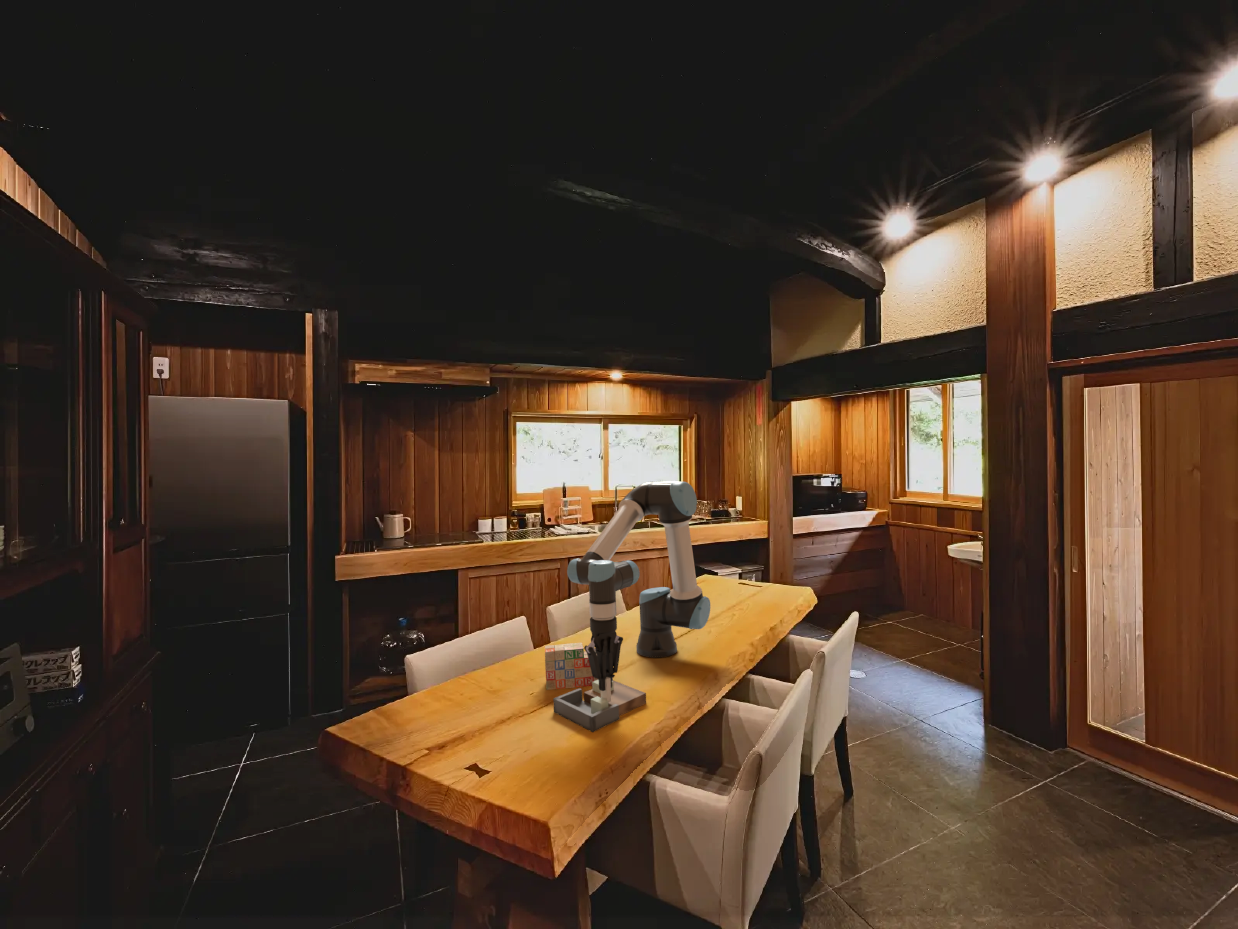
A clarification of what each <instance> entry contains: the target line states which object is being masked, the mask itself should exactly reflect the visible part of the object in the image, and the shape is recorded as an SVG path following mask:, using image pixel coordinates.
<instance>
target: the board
mask: <svg viewBox="0 0 1238 929" xmlns="http://www.w3.org/2000/svg"><path fill="white" fill-rule="evenodd" d="M613 682H614V690H612V691H611V702H608V707H610V706H612V705H614V704H617V705H619V717H620V716H623V715H624V714H626V713H629V712H631V711H633V710H635V709H637V708H640V707H642V706H644V705H645V704H647V693H646V692H644V691H642V690H640V689H636V688H634V687H631V686H630V685H629V686H628V685H626V684H623V683H621V682H618V681H616V680H614V679H613ZM597 696H598V697H600V698H601V694H600V693H598V692H595V691H593V690H592V689H590V690H586V691H584V692H583V701H585V702H587V703H590V704H591V699H592V698H595V697H597Z"/></svg>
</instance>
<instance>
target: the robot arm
mask: <svg viewBox="0 0 1238 929" xmlns="http://www.w3.org/2000/svg"><path fill="white" fill-rule="evenodd" d="M697 499H698V498H697V495H696V492H695V489H694V487H693V486H692V485H691V484H690V483H689V482H686V481H679V480H667V481H666V480H665V481H647V482H643V483H641V484H639V485H637V486H635V487H634V488H633V489H632V490H631V491H629V492H628V493H627V494H625V496H624V497H623V498H622V499H621V501H620V502H619V503H618V510H617V511H616V512H615V514H614V515H613V516H612V518H611V519H610V521H609V522H608V523H607V525H606V526H604V528H603V530H602V531H601V532H600V534H599V535H598V536H597V538H596V539H595V541H594V542H593V543H592V545H591V546H590V547H589V548H588V549H587V551H586V552H585V554H584V555H583V556H582V557H581V558H579V557H578V558H573V559H572V560H570V561H569V563H568V565H567V567H566V568H567V570H566V573H567V577H568V579H569V580H570V582H572V583H575V584H578V585H588V593H589V594H588V596H589V602H588V604H589V616H590V618H589V630H590V633H591V638H590V643H589V644H588V645H584V646H583V648H584V650H585V651H586V652H587V655H588V659H589V663H590V668H591V672H592V676H593V677H594V678H597V679H599V690H601V698H602V699H605V700H607V701H608V702H611V688H612V678H613V679H614V678H615V677H616V675H615V673H618V669H619V662H620V654H621V647H622V644H623V641H624V637H623V636H619V635H618V634H617V632H616V631H617V629H618V620H617V594H616V593H617V592H618V591H620V590H623V589H626V588H629V587H631V586H633V585H635V584H636V583H637V582H638V580H639V579H640V576H641V575H640V574H641V573H640V568H639V566H638V565H637V563H636V562H634V561H632V560H622V561H618V562H617V561H614V560H611V559H612V558H613V557H614V555H615V554H616V552H617V550H618V549H619V548H620V547H621V545H622V544H623V542H624V541H625V539H626V538H627V536H628V535H629V534H630V532H631V531H632V529H633V528H634V526H635V524H636V523H638V522H641V521H642V520H643V518H644V517H645V516H648V515H656V516H657V515H658V521H659V523H660V524H661V525H663V528H664V533H665V540H666V541H665V542H666V547H667V553H668V554H667V555H668V561H669V568H670V569H669V570H670V574H671V582H672V589H671V588H670V587H667V586H666V587H665V586H660V587H659V586H658V587H651V588H647V589H645V590H642V591H641V592H639V593H640V594H639V601H638V603H639V604H638V605H639V622H640V623H639V624H640V625H639V628H640V630H639V635H638V639H637V642H636V646H635V648H636V653H637V654H638V655H640V656H643V657H648V658H666V657H671V656H672V655H675V654H676V653H677V652H678V646H677V642H676V641H675V635H674V633H673V631H672V627H675V628H676V627H677V628H684V629H689V630H701V629H703V628H704V627H705V626H706V624H707V622H708V621H709V617H710V613H711V600H710V598H709V597H707V596H705V595H703V589H702V588H701V586H699V585H698V582H697V576H696V568H695V560H694V559H695V558H694V553H693V546H692V545H693V544H692V538H691V531H690V521H691V520H692V519H693V515H694V514H695V513H696V511H697V509H698V508H697V505H698V500H697ZM596 654H597V655H596Z"/></svg>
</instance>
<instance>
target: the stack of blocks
mask: <svg viewBox="0 0 1238 929" xmlns="http://www.w3.org/2000/svg"><path fill="white" fill-rule="evenodd" d="M584 650H585V649H584V646H583V642H573V643H572V642H571V643H564V644H563V643H562V644H549V645H545V646H544V663H545V664H544V666H545V683H546V685H545V687H546V691H547V690H560V689H572V688H582V687H591V686H592V682H593V681H596V680H599V679H597V678H594V677H593V676H592V672H591V668H590V663H589V659H588V655H587V652H586V651H584ZM596 655H597V654H596ZM613 680H614V678H612V681H613Z"/></svg>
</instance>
